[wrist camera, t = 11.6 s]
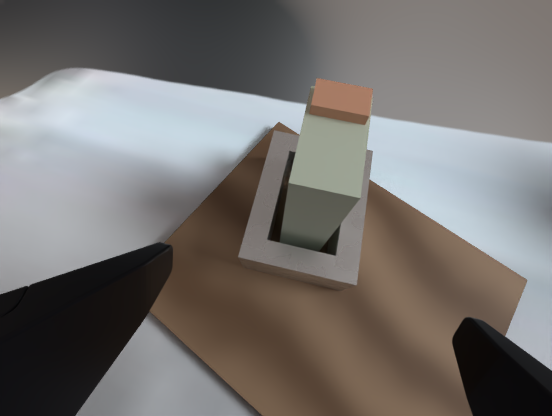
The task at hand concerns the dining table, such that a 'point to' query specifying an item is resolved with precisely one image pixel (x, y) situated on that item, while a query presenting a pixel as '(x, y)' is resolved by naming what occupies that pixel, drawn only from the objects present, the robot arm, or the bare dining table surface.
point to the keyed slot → (290, 259)
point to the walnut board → (332, 309)
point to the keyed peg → (327, 163)
